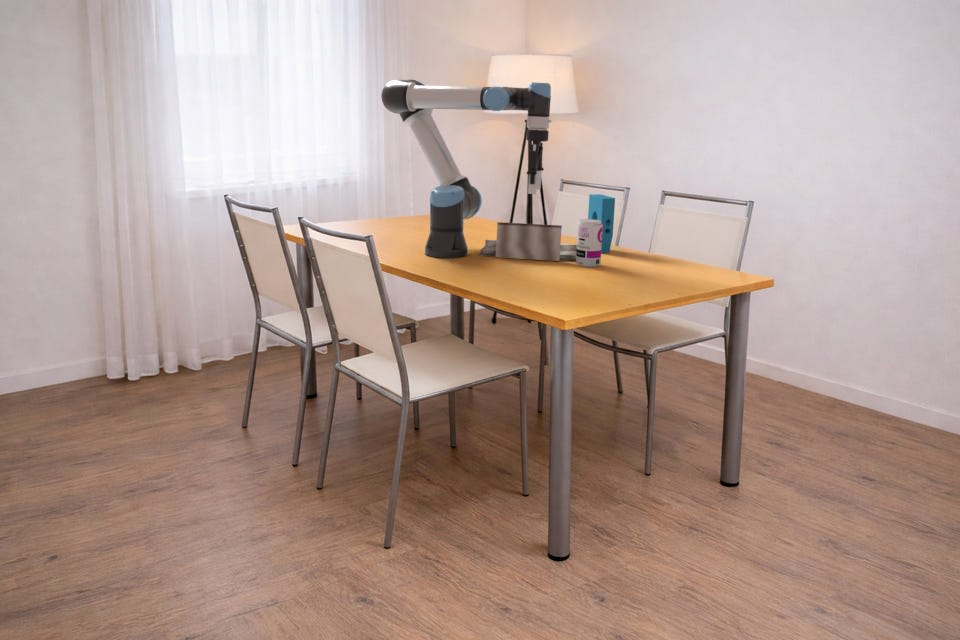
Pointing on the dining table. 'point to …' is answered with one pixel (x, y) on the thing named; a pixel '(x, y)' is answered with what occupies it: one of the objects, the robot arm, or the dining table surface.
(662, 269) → the dining table surface
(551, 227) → the plank
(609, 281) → the dining table surface
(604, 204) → the block
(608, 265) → the dining table surface
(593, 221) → the supplement can
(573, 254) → the floorboard
